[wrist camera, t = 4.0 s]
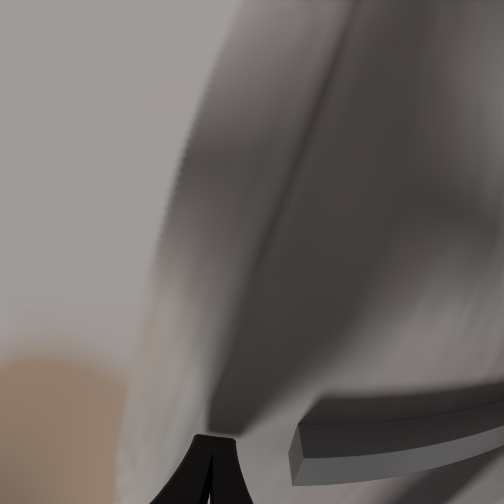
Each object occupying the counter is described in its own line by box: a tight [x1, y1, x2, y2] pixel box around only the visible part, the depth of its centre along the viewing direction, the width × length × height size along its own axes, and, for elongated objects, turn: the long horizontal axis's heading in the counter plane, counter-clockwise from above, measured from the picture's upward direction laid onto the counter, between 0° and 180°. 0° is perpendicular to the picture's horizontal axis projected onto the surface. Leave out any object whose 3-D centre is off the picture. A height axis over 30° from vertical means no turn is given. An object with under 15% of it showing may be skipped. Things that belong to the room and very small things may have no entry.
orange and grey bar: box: [288, 401, 504, 486], centre depth 9 cm, size 18×4×4 cm, turn 83°
